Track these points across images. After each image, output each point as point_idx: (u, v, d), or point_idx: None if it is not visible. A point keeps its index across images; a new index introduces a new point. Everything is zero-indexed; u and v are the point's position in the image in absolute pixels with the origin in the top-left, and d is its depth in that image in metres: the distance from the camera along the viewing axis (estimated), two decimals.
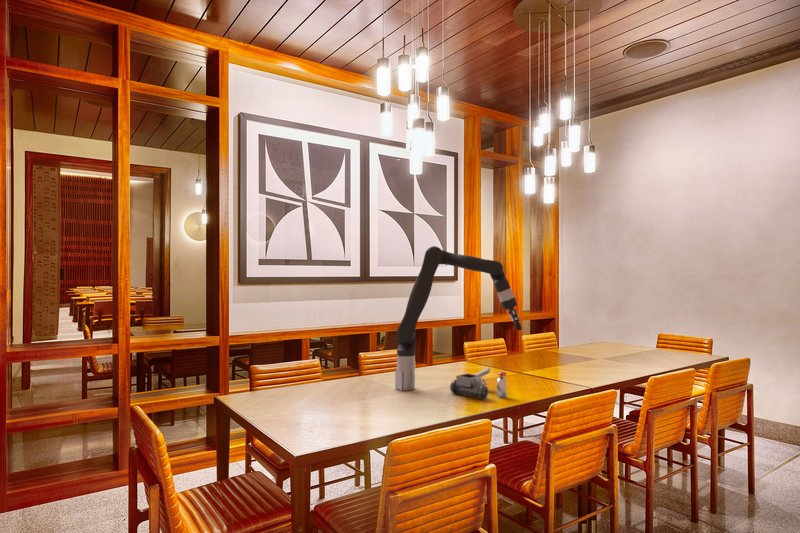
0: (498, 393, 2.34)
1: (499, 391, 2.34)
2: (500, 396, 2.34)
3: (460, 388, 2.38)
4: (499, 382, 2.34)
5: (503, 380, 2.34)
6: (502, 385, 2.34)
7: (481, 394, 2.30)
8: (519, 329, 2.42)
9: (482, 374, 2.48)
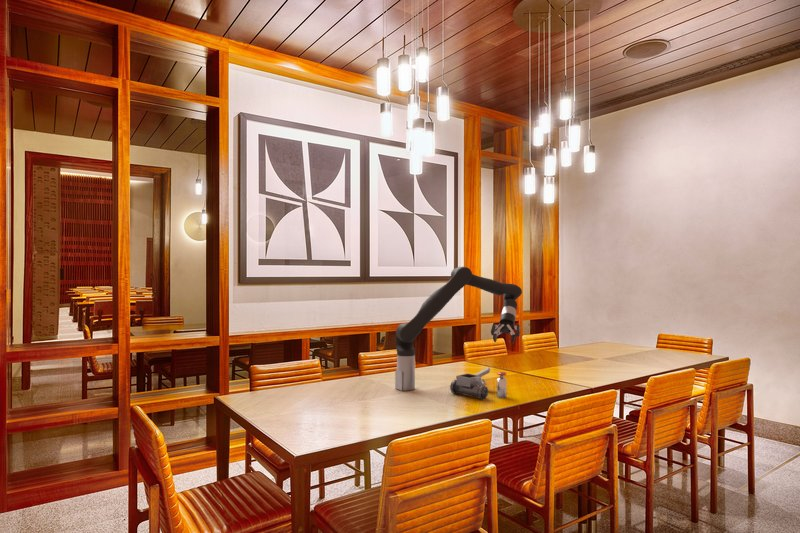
0: (498, 393, 2.34)
1: (499, 391, 2.34)
2: (500, 396, 2.34)
3: (460, 388, 2.38)
4: (499, 382, 2.34)
5: (503, 380, 2.34)
6: (502, 385, 2.34)
7: (481, 394, 2.30)
8: (512, 341, 2.45)
9: (482, 374, 2.48)
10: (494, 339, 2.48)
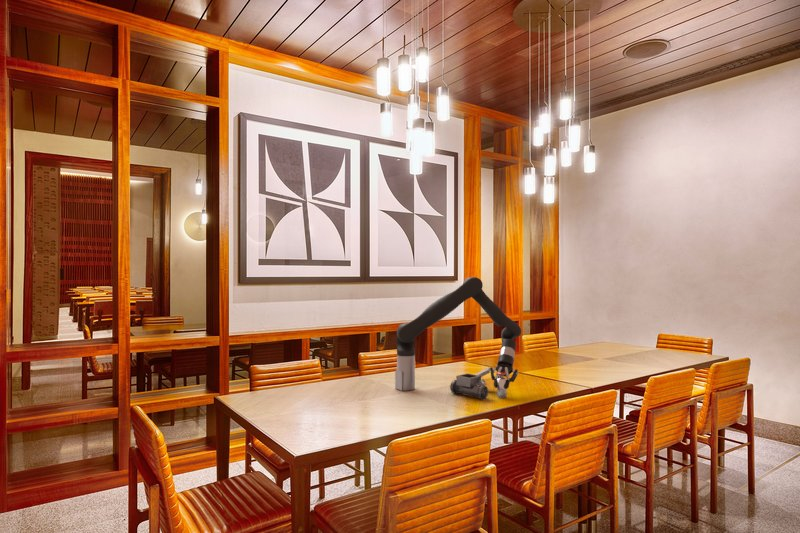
0: (498, 393, 2.34)
1: (499, 391, 2.34)
2: (500, 396, 2.34)
3: (460, 388, 2.38)
4: (499, 382, 2.34)
5: (503, 380, 2.34)
6: (502, 385, 2.34)
7: (481, 394, 2.30)
8: (506, 387, 2.33)
9: (482, 374, 2.48)
10: (495, 385, 2.34)
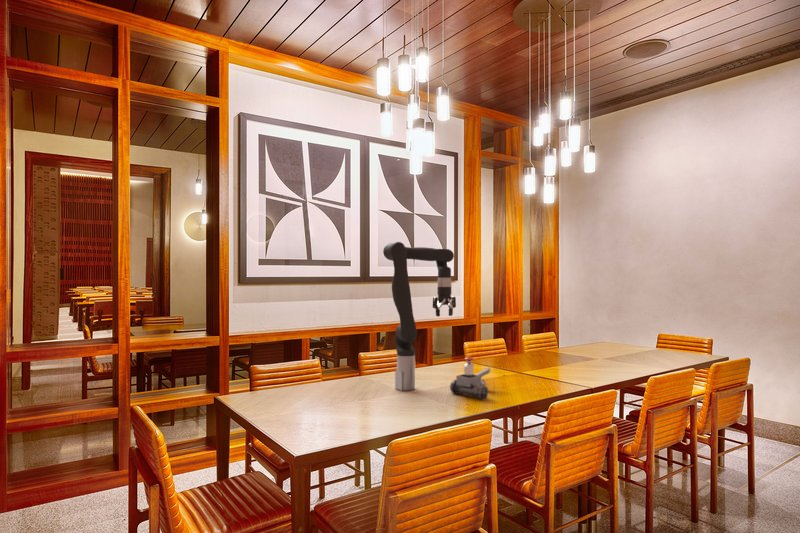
0: None
1: (466, 376, 2.36)
2: None
3: (460, 388, 2.38)
4: (466, 367, 2.36)
5: (470, 366, 2.35)
6: (469, 370, 2.35)
7: (481, 394, 2.30)
8: None
9: (482, 374, 2.48)
10: None
